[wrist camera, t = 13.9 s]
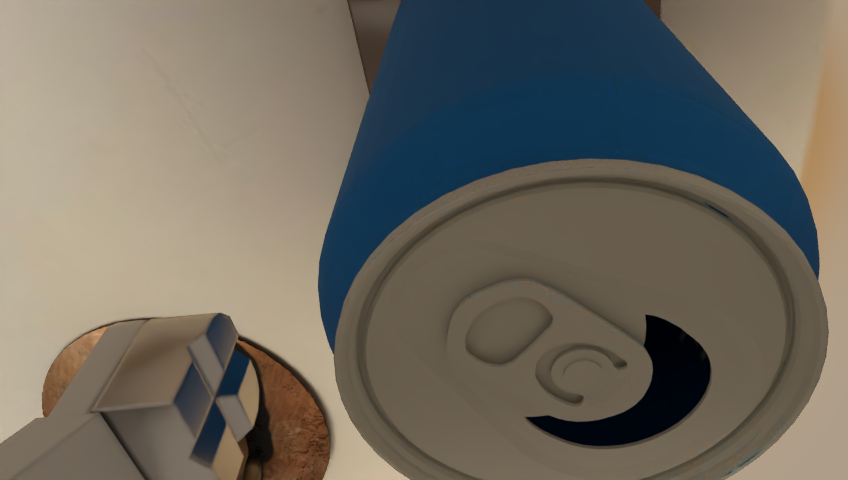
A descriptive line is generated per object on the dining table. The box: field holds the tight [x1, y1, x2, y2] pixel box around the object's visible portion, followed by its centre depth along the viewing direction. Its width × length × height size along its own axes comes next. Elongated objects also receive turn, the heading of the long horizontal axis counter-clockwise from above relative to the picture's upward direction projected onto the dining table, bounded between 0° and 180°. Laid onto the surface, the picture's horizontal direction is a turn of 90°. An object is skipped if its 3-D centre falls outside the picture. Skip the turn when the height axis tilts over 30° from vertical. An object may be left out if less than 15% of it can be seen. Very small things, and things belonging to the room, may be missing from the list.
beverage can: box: [318, 0, 829, 480], centre depth 13 cm, size 6×6×12 cm
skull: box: [42, 325, 330, 480], centre depth 26 cm, size 12×10×10 cm
